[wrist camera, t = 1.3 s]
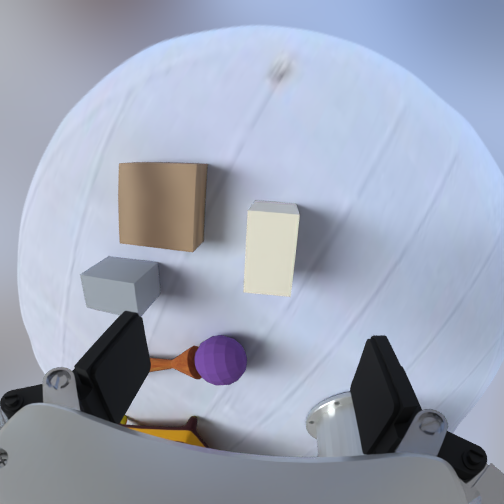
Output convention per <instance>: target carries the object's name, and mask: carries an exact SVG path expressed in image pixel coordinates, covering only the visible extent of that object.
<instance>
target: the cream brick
mask: <svg viewBox="0 0 504 504" xmlns="http://www.w3.org/2000/svg"><path fill="white" fill-rule="evenodd" d="M299 216H300V214H299V211H298V208H297V205H296V204H294V203H283V202H271V201H258V200H255V201H254V202H253V204H252V205H251V207H250V208H249V209H248V215H247V234H246V253H245V272H244V292H245V293H255V294H266V295H277V296H288V297H290V296H291V288H292V280H293V272H294V263H295V254H296V245H297V236H298V226H299Z"/></svg>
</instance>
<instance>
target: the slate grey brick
mask: <svg viewBox="0 0 504 504" xmlns="http://www.w3.org/2000/svg"><path fill="white" fill-rule="evenodd" d="M80 276H81V282H82V287H83V292H84V297H85V302H86V306H87V308H91V309H95V310H99V311H104V312H108V313H112V314H117V315H121V314H122V313H123V312H124V311H131V312H136V313H138V314H139V316H140V317H141V316H142V315H143V314H144V312H145V311H146V310H147V309H148V308H149V307H150V305H151V304H152V303H153V302H154V301H155V300H156V298H157V297H158V296H159V295H160V294H161V292H160V280H159V266H158V262H153V261H145V260H136V259H127V258H119V257H111V256H108V257H107V258H105V259H103V260H102V261H100V262H99V263H97V264H96V265H94V266H92V267H91V268H89V269H88V270H86V271H85V272H83V273H82V274H80Z"/></svg>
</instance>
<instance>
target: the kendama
mask: <svg viewBox="0 0 504 504" xmlns="http://www.w3.org/2000/svg"><path fill="white" fill-rule="evenodd" d="M150 362H151V369H150V372H152V371H159V370H165V369H171V368H174V369H176V370H178V371H180V372H182V373H184V374H186V375H188V376H190V377H193V378H195V379H200V378H203V379H204V380H206V381H207V382H209V383H211V384H214V385H230V384H232V383H234V382H235V381H237V380H238V379H239V378H240V377H241V376H242V374H243V373H244V372H245V370H246V365H247V357H246V353H245V351H244V348H243V347H242V345H241V344H240V343H238V342H237V341H236V340H235V339H233V338H230V337H226V336H223V335H219V336H212V337H210V338H209V339H207V340H205V341H204V342H202V343H201V344H200V346H199V347H198V346H193V347H191V348H189V349H188V350H186V351H185V352H183V353H182V354H180V355H179V356H177V357H176V358H175V359H173V360H169V359H157V358H150Z"/></svg>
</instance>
